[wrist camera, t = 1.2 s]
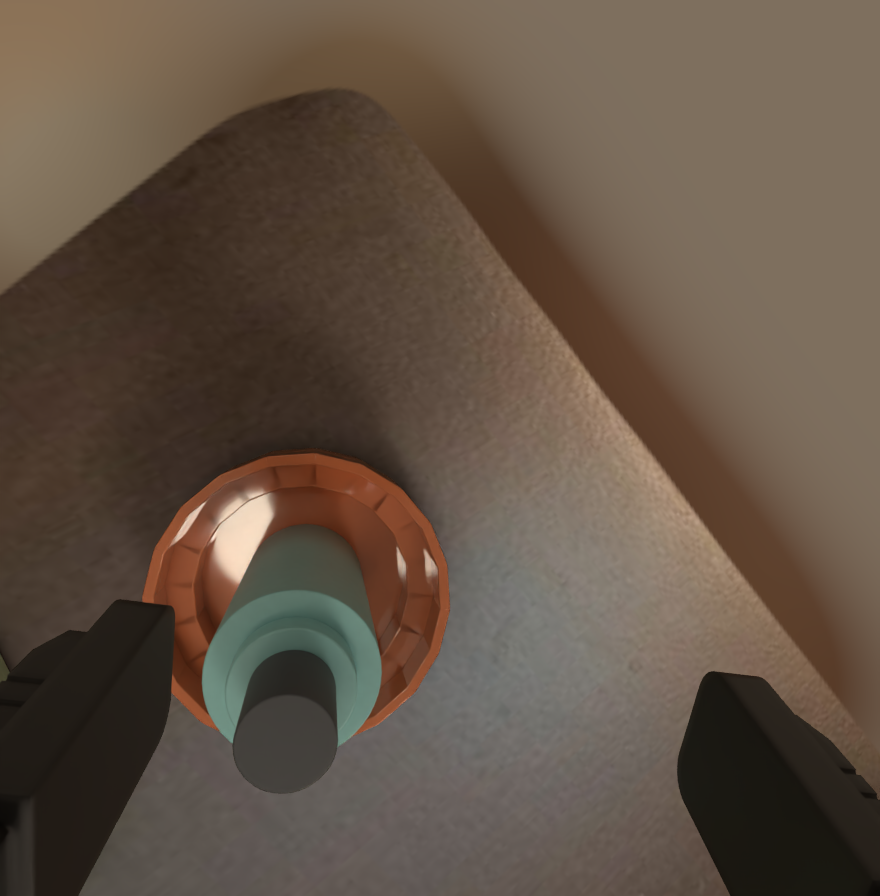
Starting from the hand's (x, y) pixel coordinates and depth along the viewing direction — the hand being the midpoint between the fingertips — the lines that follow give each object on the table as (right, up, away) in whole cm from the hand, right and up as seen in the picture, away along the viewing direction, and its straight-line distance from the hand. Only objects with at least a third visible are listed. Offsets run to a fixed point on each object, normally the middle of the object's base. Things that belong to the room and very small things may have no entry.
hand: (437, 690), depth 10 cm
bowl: (-7, -3, +26) cm, 27 cm away
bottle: (-7, -3, +25) cm, 27 cm away
